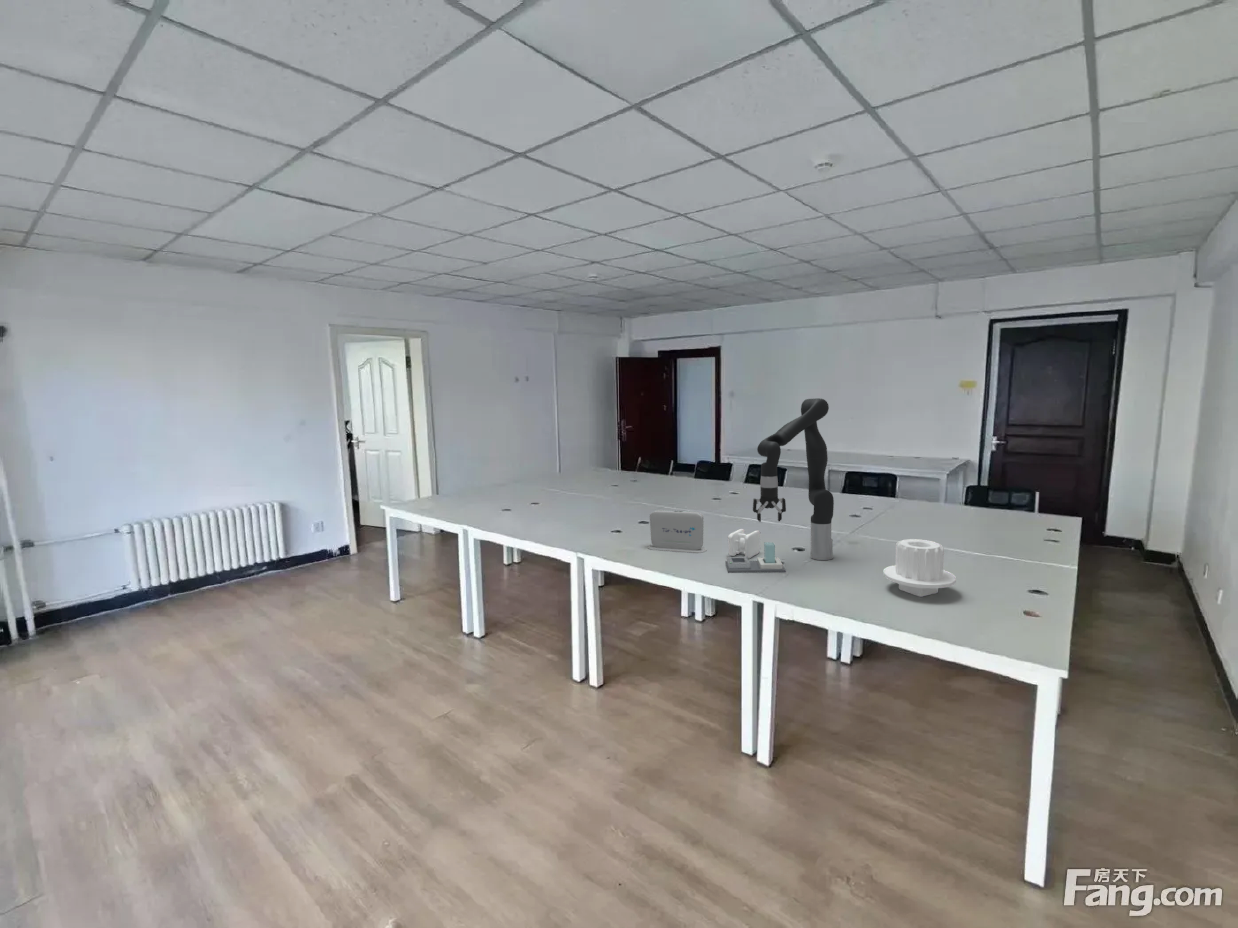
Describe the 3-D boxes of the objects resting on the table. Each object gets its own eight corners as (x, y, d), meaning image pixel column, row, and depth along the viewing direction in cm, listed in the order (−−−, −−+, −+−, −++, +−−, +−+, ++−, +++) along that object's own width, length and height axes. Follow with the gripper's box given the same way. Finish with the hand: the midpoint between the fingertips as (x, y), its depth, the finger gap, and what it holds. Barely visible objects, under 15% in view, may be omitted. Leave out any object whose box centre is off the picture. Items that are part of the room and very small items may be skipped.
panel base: (779, 562, 264) (779, 560, 264) (785, 572, 250) (785, 569, 250) (725, 563, 267) (725, 560, 266) (728, 572, 253) (728, 570, 253)
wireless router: (645, 549, 295) (643, 512, 292) (651, 544, 304) (650, 508, 302) (704, 553, 283) (703, 514, 281) (708, 548, 292) (707, 510, 290)
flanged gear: (924, 607, 205) (925, 556, 203) (868, 586, 228) (869, 541, 226) (970, 595, 215) (972, 546, 213) (913, 576, 238) (914, 532, 236)
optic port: (747, 561, 264) (747, 555, 263) (750, 568, 253) (750, 562, 253) (726, 562, 265) (726, 556, 264) (728, 569, 254) (728, 562, 254)
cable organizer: (747, 560, 269) (747, 536, 268) (727, 557, 276) (727, 534, 274) (760, 552, 281) (760, 529, 279) (741, 549, 287) (740, 527, 286)
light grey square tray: (778, 561, 262) (778, 557, 262) (782, 568, 252) (782, 564, 252) (757, 561, 263) (757, 557, 263) (760, 568, 253) (760, 564, 253)
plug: (773, 563, 260) (773, 542, 258) (775, 566, 255) (774, 545, 254) (764, 563, 260) (764, 542, 259) (766, 566, 255) (765, 545, 254)
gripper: (783, 484, 256) (783, 519, 258) (751, 484, 257) (752, 519, 259) (787, 486, 248) (787, 522, 251) (753, 487, 250) (754, 523, 252)
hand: (769, 521), depth 255 cm, fingers open, 8 cm apart
